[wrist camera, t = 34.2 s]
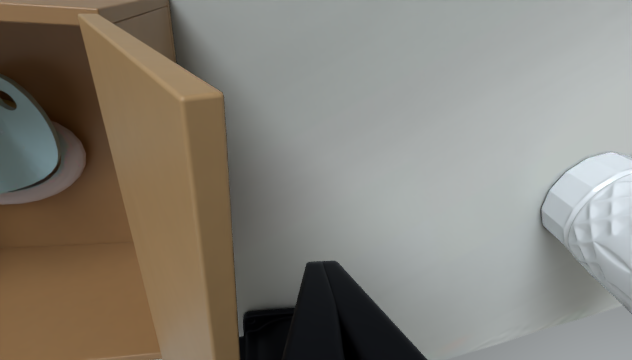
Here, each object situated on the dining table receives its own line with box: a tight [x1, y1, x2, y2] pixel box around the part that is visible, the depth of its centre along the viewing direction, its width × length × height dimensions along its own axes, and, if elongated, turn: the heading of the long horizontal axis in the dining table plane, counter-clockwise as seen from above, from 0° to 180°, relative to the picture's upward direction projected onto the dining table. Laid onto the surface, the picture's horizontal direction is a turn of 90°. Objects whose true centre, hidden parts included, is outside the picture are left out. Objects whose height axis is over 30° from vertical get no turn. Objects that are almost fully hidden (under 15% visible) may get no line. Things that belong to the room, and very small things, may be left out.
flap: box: [78, 14, 240, 360], centre depth 8 cm, size 6×13×1 cm
